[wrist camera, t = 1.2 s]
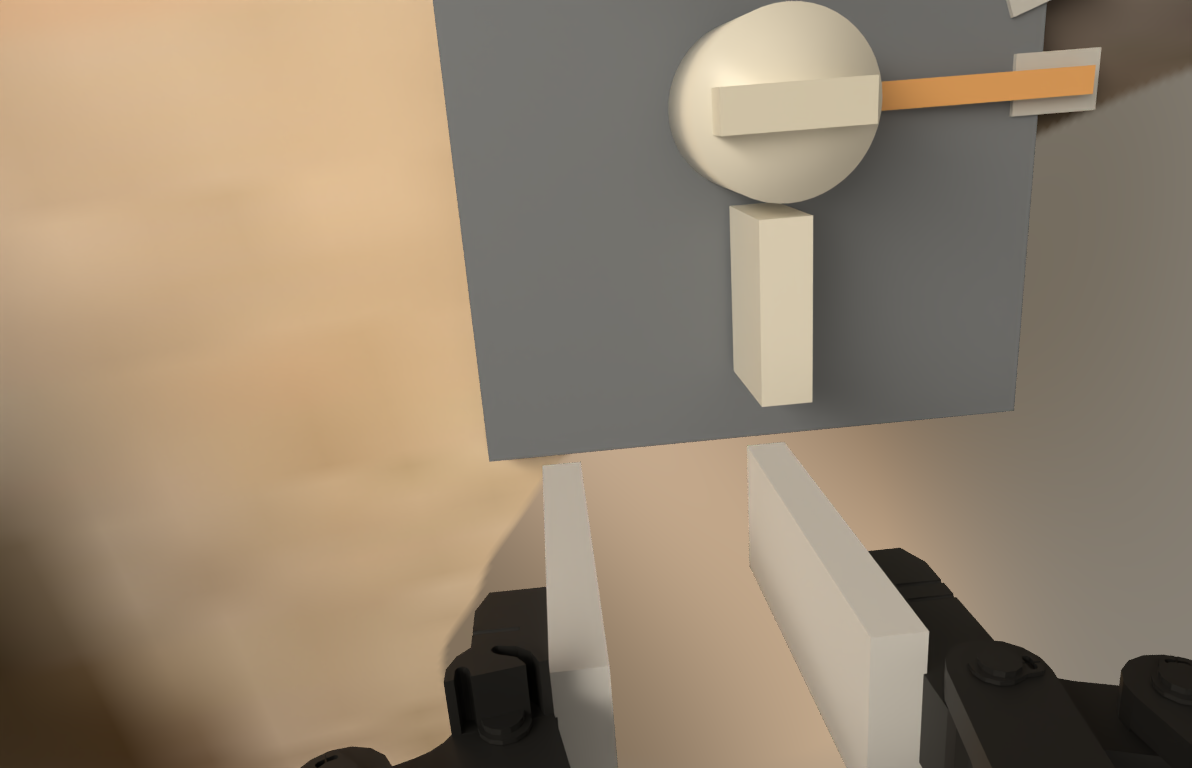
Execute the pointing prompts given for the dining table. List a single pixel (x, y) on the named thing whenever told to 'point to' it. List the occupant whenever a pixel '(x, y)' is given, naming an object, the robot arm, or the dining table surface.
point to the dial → (799, 157)
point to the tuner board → (728, 225)
